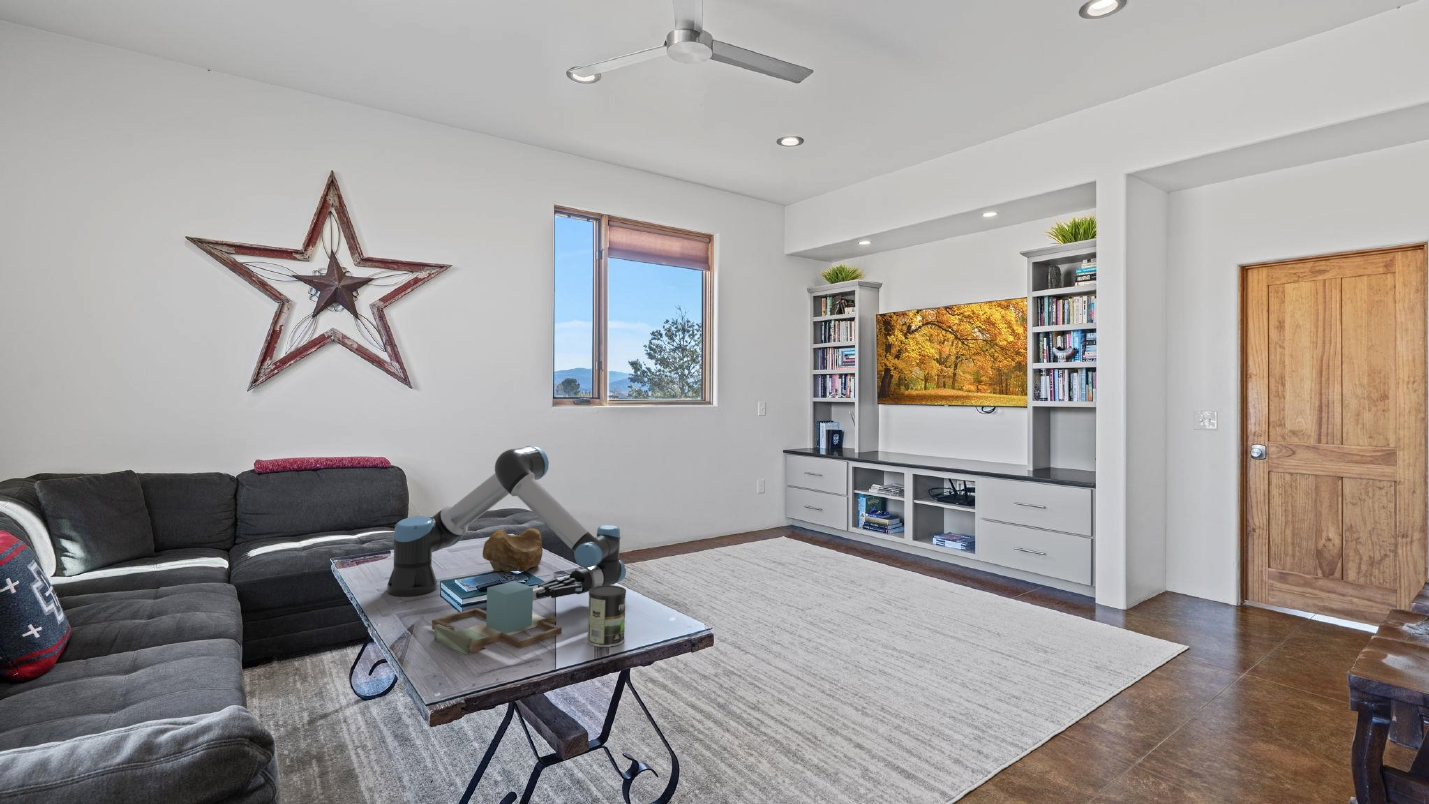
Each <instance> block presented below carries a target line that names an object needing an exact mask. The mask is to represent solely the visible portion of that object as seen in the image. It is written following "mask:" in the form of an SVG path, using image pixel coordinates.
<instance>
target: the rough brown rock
mask: <svg viewBox="0 0 1429 804" xmlns="http://www.w3.org/2000/svg"><path fill="white" fill-rule="evenodd" d="M542 557H543V545H542V534H541V532H540V531H539V529H537V528H533V527H529V528H527V529H526V530H525V531H523V532H522V533H521V534H519V535H518V534H508V533H507V532H506V531H505V530H503V529H498V530H496V531H495V532H494V533H492V534H491V535H490V536H489V538H488V539H487V540H485V543H484V545H483V549H482V558H483V559H484V560H486V561H489V563H490V565H491V568H492V569H493V572H501V571H503V572H505V571H509V572H510V571H525V572H526V571H528V570H529V569H530V568H537V567H539V565H540V564H541V560H542V559H543V558H542Z"/></svg>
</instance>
